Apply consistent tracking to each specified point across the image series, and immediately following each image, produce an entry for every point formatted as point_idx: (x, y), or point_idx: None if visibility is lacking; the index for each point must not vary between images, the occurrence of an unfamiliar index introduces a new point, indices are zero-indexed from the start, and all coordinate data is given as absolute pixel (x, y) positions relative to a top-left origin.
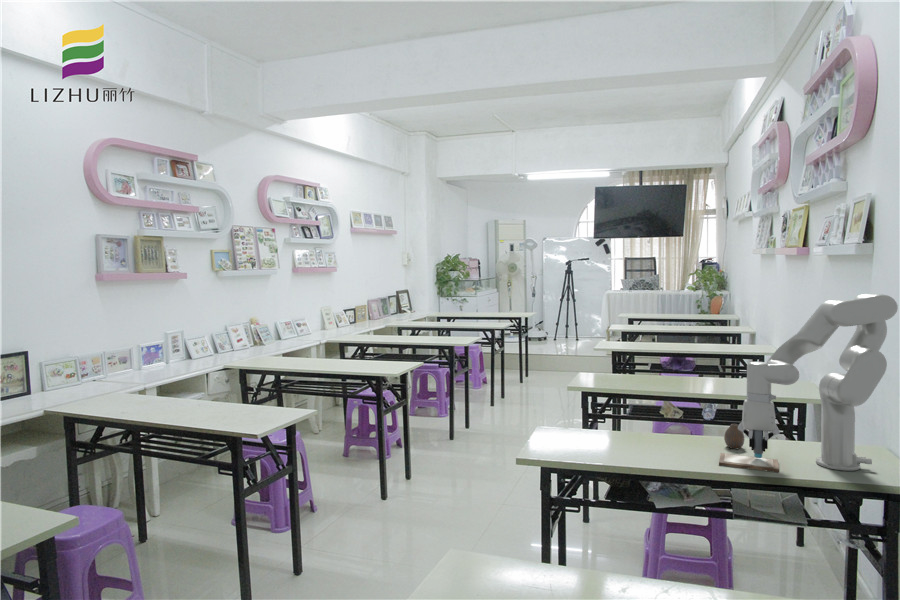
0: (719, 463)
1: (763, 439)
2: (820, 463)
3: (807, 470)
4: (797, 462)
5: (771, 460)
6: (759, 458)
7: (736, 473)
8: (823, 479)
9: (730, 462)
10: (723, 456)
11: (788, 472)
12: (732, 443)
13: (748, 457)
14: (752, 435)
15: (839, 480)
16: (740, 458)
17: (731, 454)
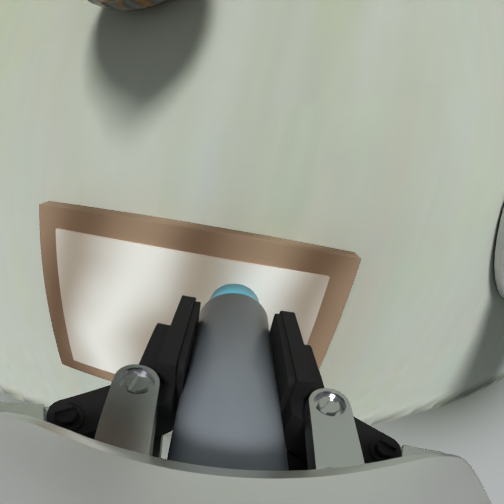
0: (66, 361)
1: (281, 411)
2: (499, 266)
3: (425, 337)
4: (446, 223)
5: (312, 304)
6: (246, 280)
7: None
8: (412, 405)
9: (98, 366)
10: (55, 272)
11: (338, 388)
12: (113, 8)
13: (177, 274)
14: (162, 409)
15: (446, 392)
16: (131, 305)
17: (85, 216)
